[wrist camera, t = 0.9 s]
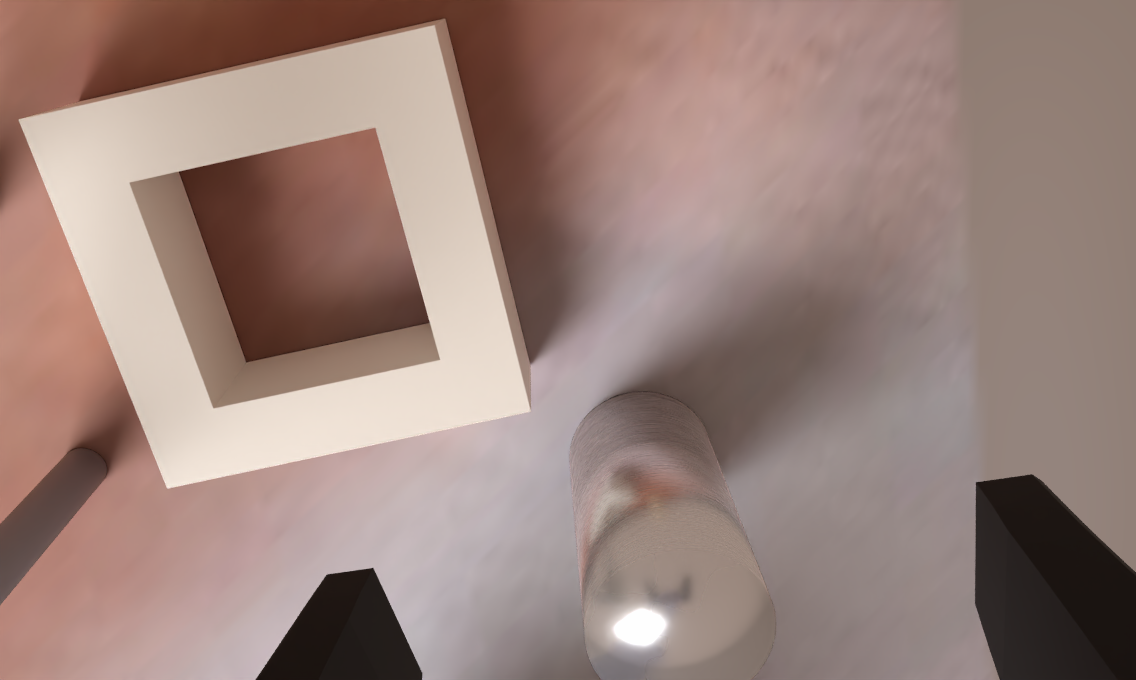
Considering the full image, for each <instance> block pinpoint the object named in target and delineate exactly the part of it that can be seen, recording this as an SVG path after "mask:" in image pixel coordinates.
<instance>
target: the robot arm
mask: <svg viewBox="0 0 1136 680" xmlns="http://www.w3.org/2000/svg"><path fill="white" fill-rule="evenodd" d="M975 605H976V608H977V611H978V614H979V617H980V620H981V624H982V627H983V630H984V633H985V636H986V639H987V642H988V646H989V649H990V652H991V655H992V658H993V661H994V664H995V667H996V670H997V673H998V676H999V679H1000V680H1136V572H1135V571H1134V570H1133V569H1131V568H1130V567H1129V566H1128V565H1127V564H1126V563H1125V562H1124V561H1123V560H1122V559H1121V558H1120V557H1119V556H1117V555H1116V554H1115V553H1114V552H1113V551H1112V550H1111V549H1110V548H1109V547H1108V546H1107V545H1106V544H1105V543H1104V542H1103V541H1101V540H1100V539H1099V538H1098V537H1097V536H1096V535H1095V534H1094V533H1093V532H1092V531H1091V530H1090V529H1089V528H1088V527H1087V526H1086V525H1085V524H1084V523H1083V522H1082V521H1081V520H1080V519H1079V518H1078V517H1077V516H1076V515H1075V514H1074V513H1073V512H1072V511H1071V510H1070V509H1069V508H1068V507H1067V506H1066V505H1065V504H1064V503H1063V502H1062V501H1061V500H1060V499H1059V498H1058V497H1057V496H1056V495H1055V494H1054V493H1053V492H1052V491H1051V490H1050V489H1049V488H1048V487H1047V486H1046V485H1045V484H1044V483H1043V482H1042V481H1041V480H1040V479H1038V478H1037V477H1035V476H1034V475H1025V476H1018V477H1011V478H1004V479H997V480H990V481H983V482H976V566H975ZM256 680H422V672H421V670H420V667H419V665H418V663H417V661H416V659H415V657H414V655H413V652H412V650H411V648H410V646H409V644H408V642H407V640H406V637H405V635H404V633H403V631H402V629H401V627H400V624H399V622H398V620H397V618H396V616H395V614H394V612H393V609H392V607H391V605H390V603H389V601H388V599H387V597H386V594H385V592H384V590H383V588H382V586H381V584H380V582H379V579H378V577H377V575H376V573H375V571H374V569H373V568H370V569H363V570H356V571H349V572H342V573H335V574H328V575H326V577H325V578H324V580H323V581H322V582H321V584H320V585H319V587H318V588H317V589H316V591H315V592H314V594H313V595H312V597H311V598H310V600H309V601H308V603H307V604H306V606H305V607H304V608H303V610H302V611H301V613H300V614H299V616H298V617H297V619H296V620H295V622H294V623H293V625H292V626H291V628H290V629H289V631H288V632H287V634H286V635H285V637H284V638H283V640H282V641H281V643H280V644H279V646H278V647H277V649H276V650H275V652H274V653H273V655H272V656H271V658H270V659H269V661H268V662H267V664H266V665H265V667H264V668H263V670H262V671H261V673H260V674H259V675H258V677H257V678H256Z"/></svg>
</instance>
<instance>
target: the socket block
mask: <svg viewBox="0 0 1136 680" xmlns="http://www.w3.org/2000/svg"><path fill="white" fill-rule="evenodd" d="M18 120H19V122H20V125H21V127H22V130H23V132H24V134H25V137H26V139H27V142H28V144H29V147H30V149H31V152H32V154H33V157H34V159H35V162H36V164H37V167H38V169H39V172H40V174H41V177H42V179H43V182H44V184H45V187H46V189H47V191H48V194H49V196H50V199H51V201H52V204H53V206H54V209H55V211H56V214H57V216H58V219H59V221H60V224H61V226H62V229H63V231H64V234H65V236H66V239H67V241H68V244H69V246H70V249H71V251H72V253H73V256H74V258H75V261H76V263H77V266H78V268H79V271H80V273H81V276H82V278H83V281H84V283H85V286H86V288H87V291H88V293H89V296H90V298H91V301H92V303H93V306H94V308H95V310H96V313H97V315H98V318H99V320H100V323H101V325H102V328H103V330H104V333H105V335H106V338H107V340H108V343H109V345H110V348H111V350H112V353H113V355H114V358H115V360H116V363H117V365H118V367H119V370H120V372H121V375H122V377H123V380H124V382H125V385H126V387H127V390H128V392H129V395H130V397H131V400H132V402H133V405H134V407H135V410H136V412H137V415H138V417H139V420H140V422H141V425H142V427H143V429H144V432H145V434H146V437H147V439H148V442H149V444H150V447H151V449H152V452H153V454H154V457H155V459H156V462H157V464H158V467H159V469H160V472H161V474H162V477H163V479H164V482H165V484H166V486H167V489H168V488H172V487H177V486H182V485H186V484H191V483H196V482H201V481H205V480H210V479H215V478H220V477H224V476H229V475H234V474H238V473H243V472H248V471H253V470H257V469H262V468H267V467H272V466H276V465H281V464H286V463H290V462H295V461H300V460H305V459H309V458H314V457H319V456H324V455H328V454H333V453H338V452H342V451H347V450H352V449H357V448H361V447H366V446H371V445H376V444H380V443H385V442H390V441H394V440H399V439H404V438H409V437H413V436H418V435H423V434H428V433H432V432H437V431H442V430H446V429H451V428H456V427H461V426H465V425H470V424H475V423H480V422H484V421H489V420H494V419H499V418H503V417H508V416H513V415H517V414H522V413H527V412H531V371H530V362H529V358H528V354H527V350H526V346H525V342H524V337H523V333H522V329H521V325H520V321H519V317H518V313H517V309H516V305H515V301H514V297H513V293H512V289H511V284H510V280H509V276H508V272H507V268H506V264H505V260H504V256H503V252H502V248H501V244H500V240H499V236H498V231H497V227H496V223H495V219H494V215H493V211H492V207H491V203H490V199H489V195H488V191H487V187H486V182H485V178H484V174H483V170H482V166H481V162H480V158H479V154H478V150H477V146H476V142H475V138H474V134H473V129H472V125H471V121H470V117H469V113H468V109H467V105H466V101H465V97H464V93H463V89H462V85H461V80H460V76H459V72H458V68H457V64H456V60H455V56H454V52H453V48H452V44H451V40H450V36H449V32H448V27H447V23H446V19H440V20H436V21H431V22H427V23H423V24H418V25H414V26H409V27H405V28H401V29H396V30H392V31H387V32H383V33H379V34H374V35H370V36H365V37H361V38H357V39H352V40H348V41H343V42H339V43H335V44H330V45H326V46H321V47H317V48H313V49H308V50H304V51H299V52H295V53H291V54H286V55H282V56H277V57H273V58H269V59H264V60H260V61H255V62H251V63H247V64H242V65H238V66H233V67H229V68H225V69H220V70H216V71H211V72H207V73H203V74H198V75H194V76H189V77H185V78H181V79H176V80H172V81H167V82H163V83H159V84H154V85H150V86H145V87H141V88H137V89H132V90H128V91H123V92H119V93H115V94H110V95H106V96H101V97H97V98H93V99H88V100H84V101H79V102H76V103H72V104H69V105H65V106H62V107H59V108H55V109H52V110H49V111H45V112H42V113H39V114H35V115H32V116H29V117H25V118H22V119H18ZM371 128H376V131H377V135H378V139H379V142H380V146H381V149H382V153H383V157H384V160H385V164H386V167H387V171H388V174H389V178H390V182H391V185H392V189H393V192H394V196H395V200H396V203H397V207H398V210H399V214H400V217H401V221H402V225H403V228H404V232H405V235H406V239H407V243H408V246H409V250H410V253H411V257H412V260H413V264H414V268H415V271H416V275H417V278H418V282H419V286H420V289H421V293H422V296H423V300H424V303H425V307H426V311H427V314H428V318H429V321H430V323H427V324H422V325H418V326H413V327H409V328H404V329H399V330H395V331H390V332H385V333H381V334H376V335H371V336H367V337H362V338H358V339H353V340H348V341H344V342H339V343H334V344H330V345H325V346H320V347H316V348H311V349H307V350H302V351H297V352H293V353H288V354H283V355H279V356H274V357H269V358H265V359H260V360H256V361H251V362H246V361H245V358H244V355H243V352H242V349H241V346H240V344H239V341H238V338H237V335H236V332H235V329H234V327H233V324H232V321H231V318H230V315H229V313H228V310H227V307H226V304H225V301H224V298H223V296H222V293H221V290H220V287H219V284H218V281H217V279H216V276H215V273H214V270H213V267H212V264H211V262H210V259H209V256H208V253H207V250H206V248H205V245H204V242H203V239H202V236H201V233H200V231H199V228H198V225H197V222H196V219H195V216H194V214H193V211H192V208H191V205H190V202H189V199H188V197H187V194H186V191H185V188H184V185H183V182H182V180H181V177H180V174H179V171H183V170H188V169H192V168H197V167H201V166H206V165H210V164H215V163H219V162H223V161H228V160H232V159H237V158H241V157H246V156H250V155H255V154H259V153H264V152H268V151H273V150H277V149H282V148H286V147H291V146H295V145H299V144H304V143H308V142H313V141H317V140H322V139H326V138H331V137H335V136H340V135H344V134H349V133H353V132H358V131H362V130H367V129H371Z"/></svg>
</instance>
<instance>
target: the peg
mask: <svg viewBox="0 0 1136 680" xmlns="http://www.w3.org/2000/svg"><path fill="white" fill-rule="evenodd" d="M569 463H570V475H571V486H572V498H573V510H574V521H575V533H576V545H577V556H578V568H579V580H580V592H581V603H582V615H583V627H584V638H585V646H586V652H587V655H588V658H589V661H590V663H591V665H592V667H593V669H594V670H595V672H596V673H597V675H598V676H599V677H600V679H601V680H751V679H752V678H753V677H754V676H755V675H756V674H757V673H758V672H759V670H760V669H761V668H762V666H763V665H764V663H765V662H766V660H767V658H768V656H769V654H770V652H771V649H772V646H773V643H774V639H775V634H776V616H775V610H774V606H773V603H772V600H771V598H770V595H769V592H768V590H767V587H766V585H765V582H764V579H763V577H762V574H761V572H760V569H759V566H758V564H757V561H756V559H755V556H754V553H753V551H752V548H751V546H750V543H749V541H748V538H747V535H746V533H745V530H744V528H743V525H742V522H741V520H740V517H739V515H738V512H737V509H736V507H735V504H734V502H733V499H732V497H731V494H730V491H729V489H728V486H727V484H726V481H725V478H724V476H723V473H722V471H721V468H720V465H719V463H718V460H717V458H716V455H715V453H714V450H713V447H712V445H711V442H710V440H709V437H708V434H707V432H706V430H705V427H704V425H703V424H702V422H701V420H700V419H699V418H698V416H697V415H696V414H695V413H694V412H693V411H692V410H691V409H690V408H689V407H688V406H686V405H685V404H683V403H682V402H680V401H678V400H676V399H674V398H672V397H669V396H667V395H664V394H659V393H655V392H632V393H626V394H622V395H619V396H616V397H613V398H611V399H609V400H607V401H605V402H603V403H601V404H600V405H598V406H597V407H596V408H594V409H593V410H592V411H591V412H590V413H589V414H588V415H587V416H586V417H585V418H584V419H583V421H582V422H581V423H580V425H579V426H578V428H577V430H576V432H575V434H574V436H573V439H572V443H571V446H570V454H569Z"/></svg>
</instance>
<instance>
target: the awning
mask: <svg viewBox="0 0 1136 680" xmlns="http://www.w3.org/2000/svg"><path fill="white" fill-rule="evenodd" d="M106 474H107V467H106V464H105V462H104V460H103V458H102V457H101V456H100V455H99V454H97V453H96V452H94V451H92V450H89V449H84V448H79V449H74V450H72V451H70V452H68V453H67V454H66V455H65V456H64V457H63V458H62V459H61V461H60V462H59V463H58V464H57V465H56V466H55V467H54V468H53V469H52V470H51V471H50V472H49V473H48V474H47V475H46V476H45V477H44V479H43V480H42V481H41V482H40V483H39V484H38V485H37V486H36V487H35V488H34V489H33V490H32V491H31V492H30V493H29V494H28V495H27V496H26V498H25V499H24V500H23V501H22V502H21V503H20V504H19V505H18V506H17V507H16V508H15V509H14V510H13V511H12V512H11V513H10V514H9V515H8V517H7V518H6V519H5V520H4V521H3V522H2V523H1V524H0V605H1V604H2V602H3V601H4V600H5V599H6V598H7V596H8V595H9V594H10V593H11V591H12V590H13V589H14V588H15V587H16V585H17V584H18V583H19V582H20V581H21V579H22V578H23V577H24V576H25V575H26V573H27V572H28V571H29V570H30V568H31V567H32V566H33V565H34V564H35V562H36V561H37V560H38V559H39V558H40V556H41V555H42V554H43V553H44V552H45V550H46V549H47V548H48V547H49V545H50V544H51V543H52V542H53V541H54V539H55V538H56V537H57V536H58V535H59V533H60V532H61V531H62V530H63V529H64V527H65V526H66V525H67V524H68V523H69V521H70V520H71V519H72V518H73V516H74V515H75V514H76V513H77V512H78V510H79V509H80V508H81V507H82V506H83V504H84V503H85V502H86V501H87V500H88V498H89V497H90V496H91V495H92V493H93V492H94V491H95V490H96V489H97V487H98V486H99V485H100V484H101V483H102V481H103V480H104V479H105V477H106Z"/></svg>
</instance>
